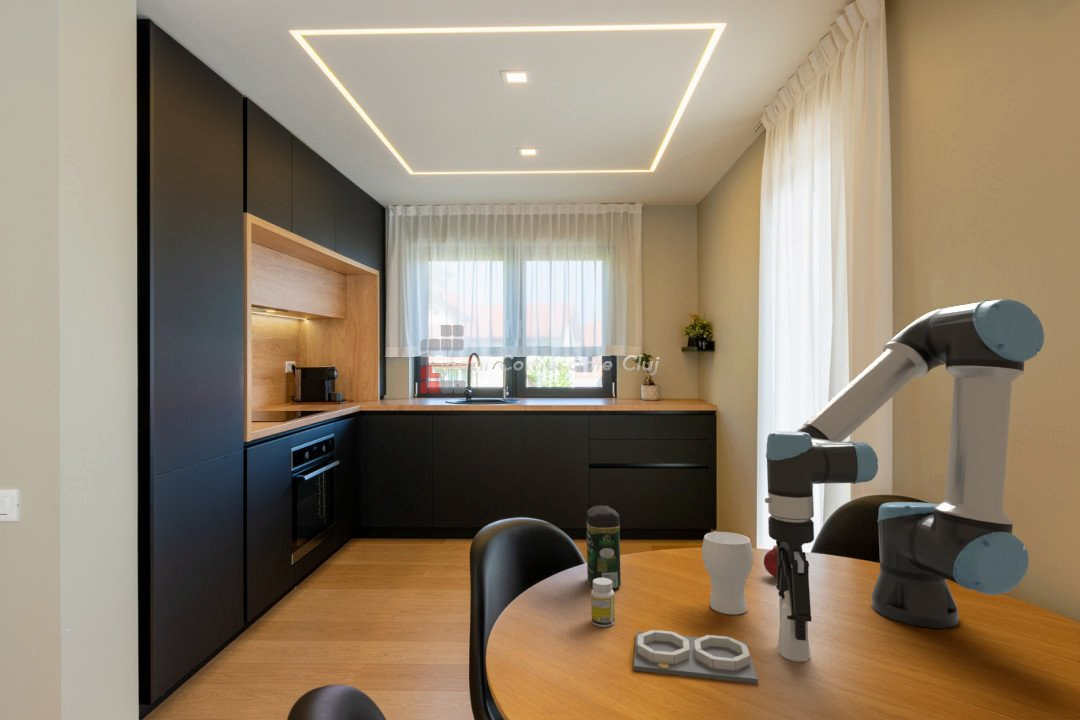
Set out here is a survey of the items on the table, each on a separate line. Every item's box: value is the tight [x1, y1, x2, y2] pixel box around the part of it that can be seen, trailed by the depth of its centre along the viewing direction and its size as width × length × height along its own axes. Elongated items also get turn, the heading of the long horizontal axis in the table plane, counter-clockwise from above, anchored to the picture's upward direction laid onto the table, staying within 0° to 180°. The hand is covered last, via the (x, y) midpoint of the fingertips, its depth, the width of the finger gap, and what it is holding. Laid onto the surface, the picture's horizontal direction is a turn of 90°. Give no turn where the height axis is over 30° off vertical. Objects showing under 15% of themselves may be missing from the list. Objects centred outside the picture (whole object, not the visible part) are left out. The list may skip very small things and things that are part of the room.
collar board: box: [633, 629, 759, 685], centre depth 96 cm, size 20×13×2 cm, turn 78°
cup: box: [701, 531, 754, 615], centre depth 118 cm, size 11×11×15 cm
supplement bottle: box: [590, 578, 616, 628], centre depth 111 cm, size 5×5×8 cm
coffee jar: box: [586, 505, 622, 591], centre depth 132 cm, size 10×8×19 cm
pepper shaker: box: [777, 590, 812, 663], centre depth 97 cm, size 5×5×11 cm
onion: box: [763, 544, 777, 579], centre depth 135 cm, size 6×6×8 cm
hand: (793, 645), depth 97 cm, fingers open, 8 cm apart
